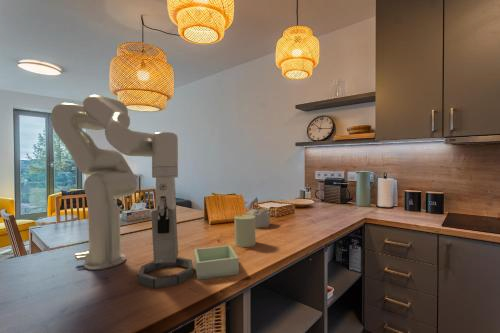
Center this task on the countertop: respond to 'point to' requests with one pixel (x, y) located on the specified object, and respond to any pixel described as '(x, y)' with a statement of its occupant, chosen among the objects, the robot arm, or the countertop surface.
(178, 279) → the socket ring
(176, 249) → the skincare box
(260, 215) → the lumpy-topped squat cylinder
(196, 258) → the bin
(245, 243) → the can
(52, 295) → the countertop surface
